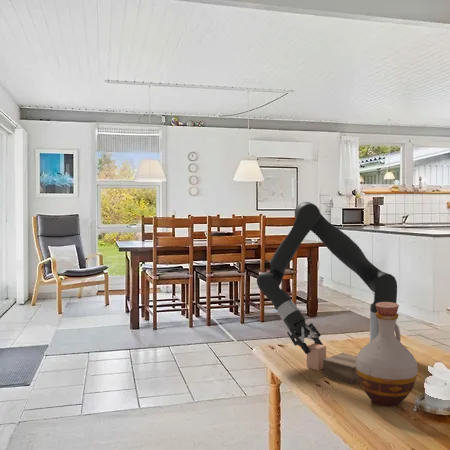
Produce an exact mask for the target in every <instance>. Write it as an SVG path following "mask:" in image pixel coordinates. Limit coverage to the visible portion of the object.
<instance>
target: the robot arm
mask: <svg viewBox="0 0 450 450" xmlns="http://www.w3.org/2000/svg"><path fill="white" fill-rule="evenodd" d="M294 217H295V220H294V223H293V225H292V227H291V230H290V231H289V232H288V234H287V236H286V237H285V238H284V239H283V241H282V242H281V243H280V244H279V246H278V248H277V249H276V250H275V252H274V254H273V255H272V258H271V259H270V260H269V266H270V269H269V271H268V272H261V273H259V275H257V278H256V284H257V287H258V289H259V290H260V291H261V292H262V293H263V295H264V296H265V297H266V298H267V299H268V300H269V301H270V302H271V303H272V305H273V306H274V308H275V310H276V311H277V313H278V315H279V317H280V319H281V320H282V321H283V323H284V324H285V325H286V328H287V329H288V331H287V332H286V333H287V335H288V337H289V339H290V341H291V342H292V343H293V345H294V346H295V347H296V346H299V347H300V348H301V350H302V351H303V352H304V353H305V355H307V354H308V353H310V349H309V347H308V344H307V343H306V342H305V339H308V340H311V341H313V342H314V343H316V344H320V345H324V344H323V342H322V341H321V340H320V337H321V336H322V334H321V333H320V332H319V330H318V329H317V327H316V326H315V325H314V324H313V323H312V322H310V323H309V324H307V323H306V318H305V315H303V313H302V312H301V310H300V309H299V307H298V306H297V304H295V302H293V300H292V298H291V297H290V295H289V294H288V293H287V292H286V291H285V290H284V289H282V288H280V286H281V284H282V281H283V278H284V275H285V273H286V269H287V268H288V266H289V264H290V263H291V261H292V260H293V257H294V256H295V255H296V253H297V251H298V249H299V247H300V246H301V244H302V242H303V241H304V240H305V238H306V237H307V235H308V234H309V233H310V232H312V233H313V234H314V235H316V236H317V238H318V239H319V240H320V241H321V243H323V245H324V246H325V247H326V248H327V250H329V251H330V253H332V255H334V256H335V257H336V258H337V259H338V261H340V262H342V263H343V264H344V265H345V266H346V267H347V268H349V269H350V270H351V271H353V272H354V273H355V274H356V275H357V276H358V277H359V278H360V279H361V280H362V282H364V284H365V285H366V286H367V287H368V289H369V290H371V291H372V292H373V293H374V296H373V299H374V301H373V302H372V303H371V304H370V306H369V308H370V309H369V311H370V313H369V314H370V315H369V317H370V318H369V319H370V320H369V343H370V342H371V341H372V340H373V339H374V338H375V337H376V336H377V335H378V333H379V324H378V319H377V317H376V312H377V309H376V305H375V304H376V303H379V302H393V303H397V298H398V297H397V296H398V282H397V279H396V277H395V276H394V275H392V274H391V273H388V272H385V271H382V270H381V269H379V268H378V267H377V266H375V265H374V264H373V263H372V262H371V261H369V259H368V258H367V257H366V255H365V252H364V251H363V250H362V249H361V248H360V247H359V245H358V244H357V243H356V242H355V241H354V240H352V239H351V237H350V236H348V235H347V234H346V233H344V232H343V231H342V230H341V229H339V228H338V227H336V226H335V225H333V224H332V223H330V222H329V221H328V220H327V219H326V218H325V217H324V216H323V214H322V213H321V211H320V208H319V207H318V206H317V205H316V204H314V203H312V202H310V201H309V202H308V201H303V202H300V203H298V204H297V205H296V207H295V208H294ZM314 343H313V344H314Z"/></svg>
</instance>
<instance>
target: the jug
mask: <svg viewBox="0 0 450 450" xmlns="http://www.w3.org/2000/svg"><path fill="white" fill-rule="evenodd" d="M375 305H376V309H377V312H376V317H377V319H378V324H379V333H378V335H377V336H376V337H375V338H374V339H373V340H372V341H371V342H370V341H369V342H368V343H367V344H366V345H365V346H363V347H362V348H361V349H360V351H359V352H358V353H357V355H356V356H357V358H356V371H357V376H358V379H359V382H358V383H359V384H360V386H361V388H362V389H363V391H364V392H365V394H366V395H367V396H368V398H369V400H370V401H371V402H372V403H373V404H375V405H377V406H380V407H385V408H386V407H387V408H394V407H398V406H399V405H400V404H401V403H402V402H403V401H405V399H406V398H407V397H408V396H410V394H411V393H412V391H413V389H414V386H415V384H416V380H417V377H418V363H417V360H416V358H415V356H414V354H413V353H412V352H411V351H409V349H408V348H407V347H406V346H405V345H403V343H402V342H401V331H400V330H401V329H400V328H399V327H400V326H399V325H398V323H397V320H398V318H399V314H398V310H399V307H400V305H399V304H398V303H397V302H396V303H393V302H379V303H376V304H375Z"/></svg>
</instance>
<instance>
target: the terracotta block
mask: <svg viewBox="0 0 450 450" xmlns="http://www.w3.org/2000/svg"><path fill="white" fill-rule="evenodd" d="M307 346H308V347H309V349H310V353H308V354H306V368H308V369H312V370H315V371H320V369H321V370H323V360H324V359H326V358H327V346H326V345H324V344H323V345H320V344H316V343H311V344H309V345H308V344H307Z"/></svg>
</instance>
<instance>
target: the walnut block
mask: <svg viewBox="0 0 450 450" xmlns="http://www.w3.org/2000/svg"><path fill="white" fill-rule="evenodd" d="M356 358H357V355H353V354H349V353H344V352H340V353H337V354H335V355H333V356H329V357H326V359H324V360H323V369H322V371H323V372H322V376H323V377H326V378H329V379H334V380H335V381H336V380H337V381H340V382H343V383H346V384H350V385H356V384H358V383H360V382H359V379H358V376H357V371H356Z"/></svg>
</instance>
